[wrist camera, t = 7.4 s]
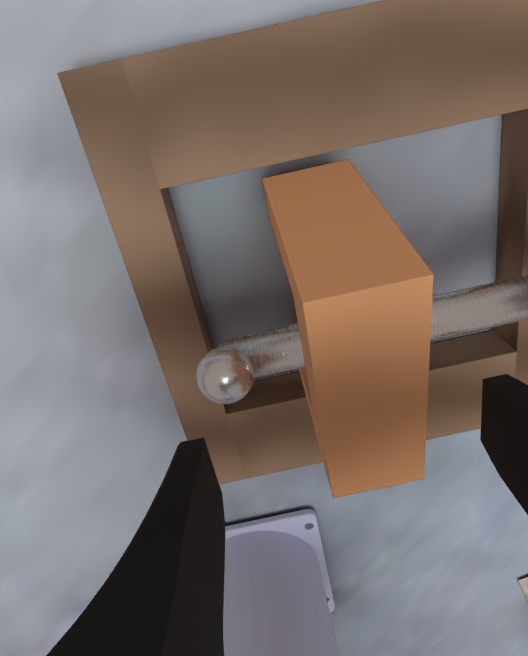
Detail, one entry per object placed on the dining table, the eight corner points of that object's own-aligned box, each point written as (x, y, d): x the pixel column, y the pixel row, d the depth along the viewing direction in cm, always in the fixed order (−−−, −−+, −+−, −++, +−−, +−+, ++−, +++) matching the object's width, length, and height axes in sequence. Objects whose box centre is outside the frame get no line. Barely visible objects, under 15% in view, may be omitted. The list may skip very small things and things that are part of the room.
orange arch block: (360, 336, 22) (423, 478, 16) (293, 350, 22) (333, 498, 16) (348, 159, 17) (433, 274, 11) (262, 178, 17) (302, 303, 11)
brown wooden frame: (625, 367, 25) (656, 390, 24) (204, 457, 26) (204, 487, 24) (713, -72, 17) (772, -87, 15) (72, 71, 17) (57, 73, 15)
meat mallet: (585, 252, 22) (759, 344, 15) (211, 333, 22) (212, 461, 15) (597, 161, 20) (803, 216, 13) (188, 250, 20) (176, 352, 13)
